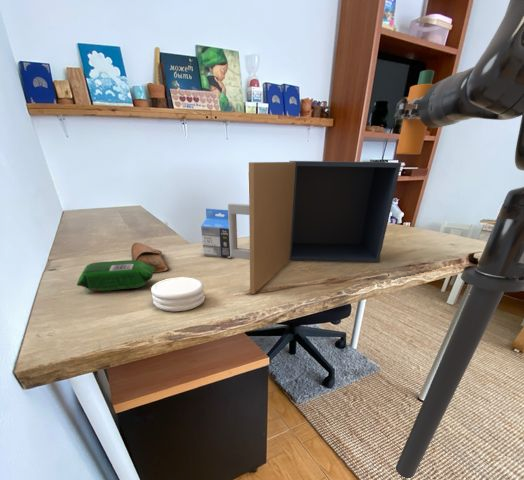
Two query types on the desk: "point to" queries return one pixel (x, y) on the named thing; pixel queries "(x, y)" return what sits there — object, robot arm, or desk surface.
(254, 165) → the fridge door
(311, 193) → the box
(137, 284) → the snack package
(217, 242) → the tape cartridge
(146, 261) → the sunglasses case
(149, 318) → the desk surface
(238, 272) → the desk surface
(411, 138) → the juice bottle
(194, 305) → the coaster
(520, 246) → the robot arm
